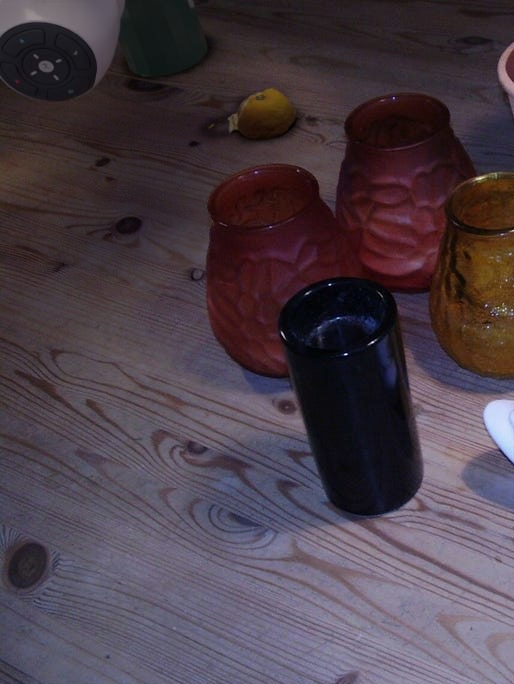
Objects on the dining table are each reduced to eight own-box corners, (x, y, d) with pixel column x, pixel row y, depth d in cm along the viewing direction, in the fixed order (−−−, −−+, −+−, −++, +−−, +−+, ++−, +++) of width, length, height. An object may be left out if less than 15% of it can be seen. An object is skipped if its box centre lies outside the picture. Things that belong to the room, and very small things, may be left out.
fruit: (259, 96, 104) (249, 64, 102) (318, 114, 100) (310, 82, 98) (202, 136, 100) (191, 104, 97) (262, 158, 96) (252, 124, 93)
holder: (122, 85, 109) (87, -3, 102) (139, 45, 115) (107, -40, 108) (201, 76, 108) (172, -13, 101) (214, 37, 115) (187, -49, 108)
